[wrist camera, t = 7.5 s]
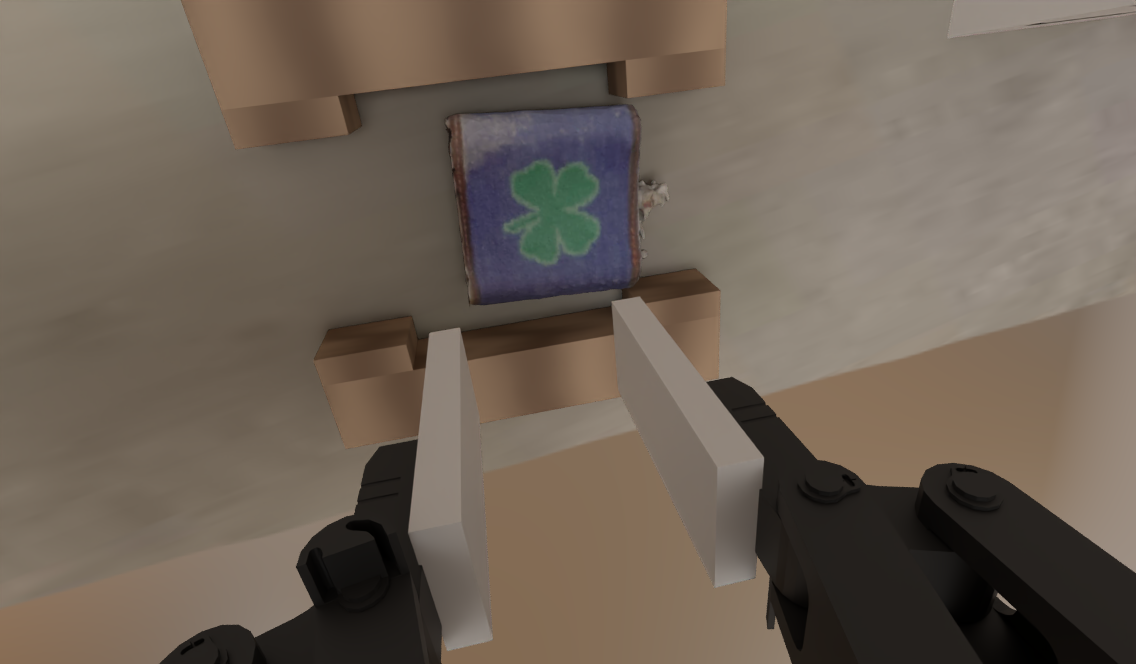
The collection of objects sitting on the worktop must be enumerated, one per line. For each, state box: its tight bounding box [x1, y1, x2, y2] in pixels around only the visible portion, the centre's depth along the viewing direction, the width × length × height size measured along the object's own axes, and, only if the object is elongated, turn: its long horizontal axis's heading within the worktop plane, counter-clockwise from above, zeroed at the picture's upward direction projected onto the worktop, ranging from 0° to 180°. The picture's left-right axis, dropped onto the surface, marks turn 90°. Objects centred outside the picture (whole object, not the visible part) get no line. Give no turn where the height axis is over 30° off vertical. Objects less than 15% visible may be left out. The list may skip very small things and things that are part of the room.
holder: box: [181, 0, 727, 449], centre depth 27 cm, size 21×21×4 cm
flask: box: [445, 104, 670, 305], centre depth 28 cm, size 9×3×11 cm
